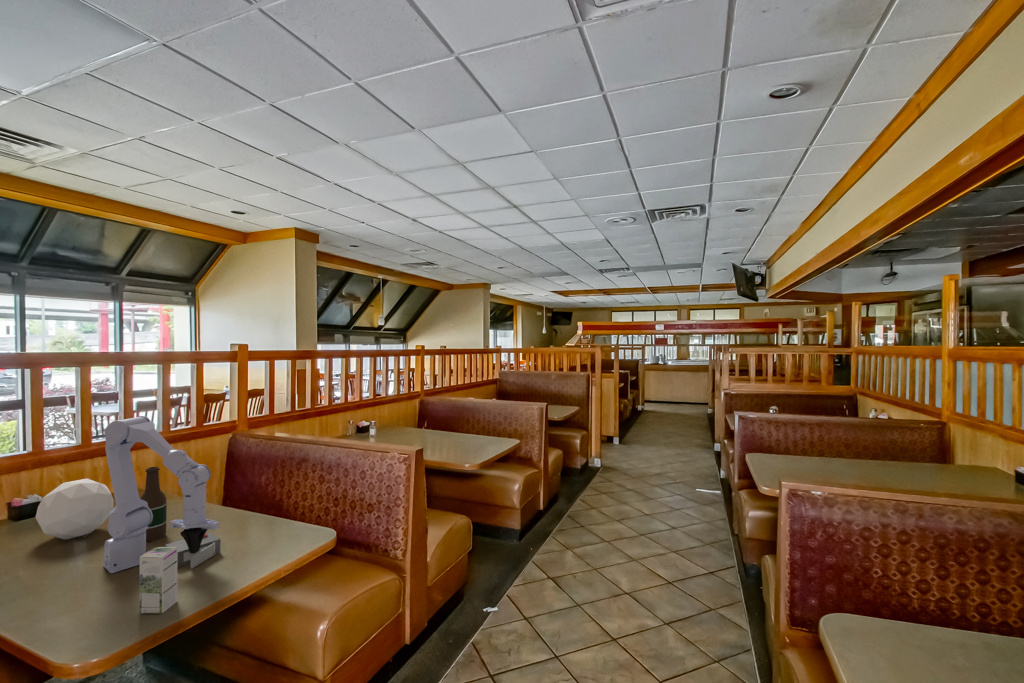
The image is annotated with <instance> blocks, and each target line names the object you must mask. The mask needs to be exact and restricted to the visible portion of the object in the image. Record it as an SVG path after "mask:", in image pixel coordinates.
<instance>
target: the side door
mask: <svg viewBox="0 0 1024 683" xmlns="http://www.w3.org/2000/svg"><path fill="white" fill-rule="evenodd" d="M214 556H216V555H215V542H214V543H212V544H211V545H209V546H207V547H206V548H204V549H202V550H201V551H199V552H197V553H195V554H194V555H192V556H191V563H190V569H194V568H195V567H197V566H198V565H200V564H202V563H203V562H206V561H207V560H208V559H210V558H212V557H214Z"/></svg>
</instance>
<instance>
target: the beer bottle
mask: <svg viewBox="0 0 1024 683" xmlns="http://www.w3.org/2000/svg"><path fill="white" fill-rule="evenodd" d="M145 469H146V470H145V472H146V475H145V477H146V478H145V486H144V488H145V489H144V492H143V493H142V495H141V496H140V497H139V498H140V499H141V500H144V501H146V502H147V503H148V507H149V509H150V510H151V511H152V514H153V519H152V522H151V523H150V524H149V525H148V529H147V530H146V543H147V542H153V541H156V540H158V539H162V538H163V537H164V536H166V535H167V534H166V533H167V509H168V508H167V497H166V494H165V493H164V492H163V491H162V490H161V487H160V476H159V475H160V474H159V471H160V468H159V466H151V467H148V468H145Z"/></svg>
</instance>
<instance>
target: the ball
mask: <svg viewBox="0 0 1024 683" xmlns="http://www.w3.org/2000/svg"><path fill="white" fill-rule="evenodd" d="M113 509H114V498H113V495H112V493H111V491H110V489H109V488H108V486H107V485H106V484H104V483H101V482H98V481H95V480H92V479H90V478H83V479H82V478H81V479H77V480H72V481H71V480H70V481H66V482H62V483H61V484H59V485H58V486H57V487H55V488H54V489H53V490H51V491H50V492H49V493H47V494H46V495H45V496H43V497H42V499H41V501H40V502H39V504H38V506H37V510H36V514H35V520H36V521H37V523H38V525H39V528H40V529H41V531H42V532H43V534H44V535H47V536H50V537H51V536H52V537H54V538H57V539H61V540H64V541H65V540H66V539H67V540H70V539H74V538H78V537H81V536H85V535H89V534H91V533H92V532H94V531H95V530H96V529H97V528H99V527H100V526H102V524H104V522H106V521H107V519H109V516H108V515H109V514H110V513H111V511H112V510H113Z"/></svg>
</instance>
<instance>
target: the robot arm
mask: <svg viewBox="0 0 1024 683" xmlns="http://www.w3.org/2000/svg"><path fill="white" fill-rule="evenodd" d="M155 426H156V424H155V422H153V421H152V420H151V419H150V418H149V417H148V416H145V415H140V416H137V417H132V418H125V419H121V420H120V419H119V420H112V421H111V422H110V423H109V424H108V425H107V426H106V427H105V429H104V430H103V434H104V437H105V448H104V449H105V455H106V459H107V465H108V469H109V470H108V471H109V476H110V480H111V481H110V482H111V485H112V491H113V495H114V502H115V506H113V510H112V511H111V513H110V514H109V515H108V516H109V517H108V525H107V531H108V533H109V535H110V536H111V538H109V539H107V540H105V541H104V546H103V548H104V551H103V554H104V556H103V558H104V559H103V567H104V568H105V570H107V571H108V572H109V573H110V574H114V573H117V572H120V571H124V570H127V569H131V568H133V567H136V566H140V556H142V555H143V554H145V553H146V552H147V542H146V530H147V529H148V525H149V524H150V523H151V522H152V519H153V514H152V511H151V510H150V509H149V507H148V503H147V502H146V501H144V500H141V499H140V498H141V497H140V495H139V491H138V490H139V489H138V485H137V479H136V474H135V469H134V465H133V458H132V454H131V448H133V446H134V445H135V444H136V443H143V444H144V445H145V446H146V447H148V448H150V449H151V451H153V452H154V453H156V454H157V455H159V456H160V457H161V458H162V464H163V466H164V467H165V468H167V469H168V470H169V471H170V472H171V473H173V475H175V477H177V478H178V479H177V484H178V486H179V487H180V488H181V494H182V519H173V520H171V521H169V528H170V529H175V528H180V529H181V530H182V531H181V532H180V536H181V537H182V539H184V540H185V541H186V543H187V546H188V549H189V552H190V553H191V554H194V553H196V552H198V551H199V549H200V545H201V542H202V539H203V537H204V535H205V533H207V531H208V530H211V531H216V530H218V529H219V528H220V521H218V520H217V521H216V520H214V519H210V518H207V483H208V482H209V480H210V479H211V477H212V473H211V470H210V468H209V467H208V465H206V464H200V463H199V462H197V461H194V460H193V459H192V458H191V457H190V456H189V455H188V454H187V452H186V451H185V450H182V449H175V448H174V447H173V446H172V445H171V444H170V443H169V442H168V441H167V440H166V439H165V438H164V437H163V436H162V435H161V434H160V432H158V430H157V429H156V427H155Z"/></svg>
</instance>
